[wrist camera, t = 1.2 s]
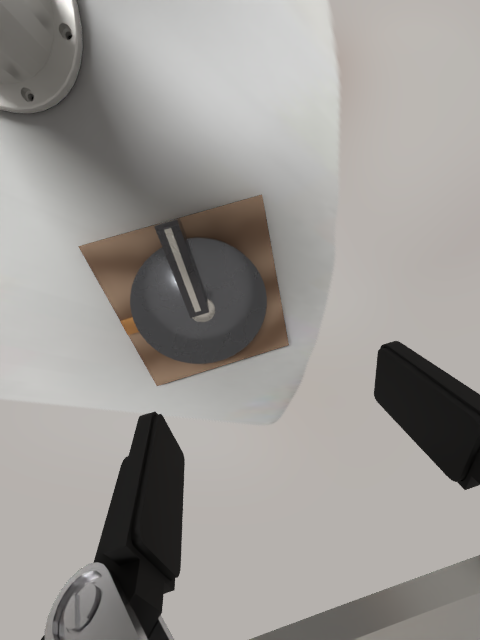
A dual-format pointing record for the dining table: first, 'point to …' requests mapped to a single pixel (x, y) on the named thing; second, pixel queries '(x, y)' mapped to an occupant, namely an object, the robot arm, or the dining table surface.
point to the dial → (197, 297)
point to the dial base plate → (218, 223)
